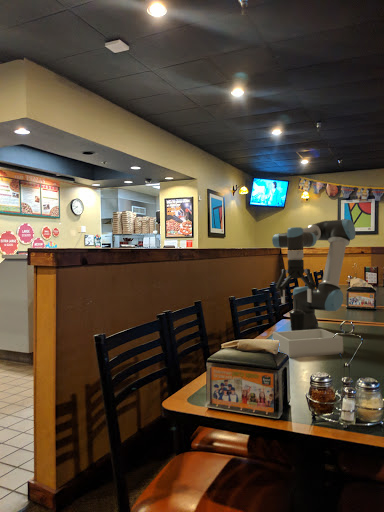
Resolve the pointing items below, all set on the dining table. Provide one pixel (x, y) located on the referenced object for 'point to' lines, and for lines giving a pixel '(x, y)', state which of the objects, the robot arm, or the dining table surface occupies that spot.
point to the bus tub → (309, 342)
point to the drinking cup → (297, 319)
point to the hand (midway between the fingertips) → (296, 302)
